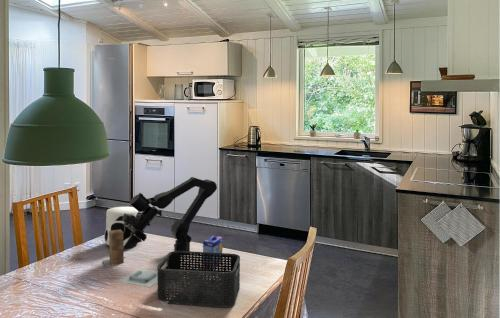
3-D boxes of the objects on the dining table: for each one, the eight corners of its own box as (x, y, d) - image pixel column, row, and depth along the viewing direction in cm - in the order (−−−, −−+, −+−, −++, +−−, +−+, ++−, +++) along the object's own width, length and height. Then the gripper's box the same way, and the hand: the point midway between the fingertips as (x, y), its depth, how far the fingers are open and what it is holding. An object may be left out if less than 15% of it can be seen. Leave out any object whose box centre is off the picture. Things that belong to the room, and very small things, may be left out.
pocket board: (138, 270, 175) (138, 266, 174) (167, 275, 170) (167, 270, 170) (118, 283, 161) (118, 278, 161) (149, 288, 157) (149, 283, 157)
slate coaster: (125, 258, 189) (125, 256, 189) (130, 265, 180) (130, 264, 180) (102, 261, 184) (102, 260, 184) (107, 269, 175) (107, 267, 175)
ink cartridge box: (213, 270, 178) (213, 237, 176) (201, 267, 180) (202, 235, 178) (222, 262, 187) (223, 231, 185) (212, 260, 189) (212, 230, 187)
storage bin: (154, 303, 146) (154, 267, 144) (170, 281, 165) (170, 249, 164) (233, 309, 143) (234, 273, 141) (240, 286, 162) (241, 254, 160)
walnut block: (121, 259, 185) (120, 229, 184) (123, 263, 181) (123, 232, 179) (109, 261, 183) (109, 230, 181) (112, 264, 178) (111, 233, 177)
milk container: (113, 238, 217) (113, 205, 214) (145, 240, 215) (145, 206, 213) (98, 249, 199) (97, 213, 197) (132, 251, 198) (132, 215, 196)
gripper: (127, 202, 191) (104, 228, 187) (138, 211, 175) (112, 240, 171) (145, 217, 196) (122, 242, 192) (157, 227, 180) (132, 255, 176)
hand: (121, 244), depth 182 cm, fingers open, 9 cm apart
